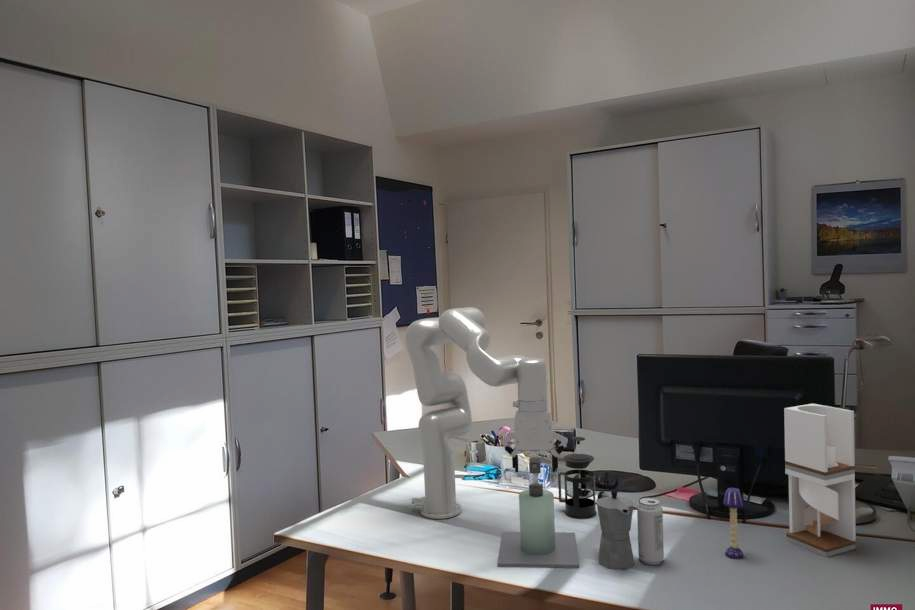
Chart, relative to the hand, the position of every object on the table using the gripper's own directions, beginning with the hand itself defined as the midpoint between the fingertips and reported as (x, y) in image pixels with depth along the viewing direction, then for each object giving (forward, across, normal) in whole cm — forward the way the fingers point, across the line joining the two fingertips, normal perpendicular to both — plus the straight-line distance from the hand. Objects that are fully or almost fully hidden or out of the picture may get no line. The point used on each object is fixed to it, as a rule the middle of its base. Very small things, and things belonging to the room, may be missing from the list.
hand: (535, 470), depth 170 cm
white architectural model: (+21, +72, +6) cm, 75 cm away
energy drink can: (+21, +28, -5) cm, 36 cm away
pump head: (+3, 0, -2) cm, 4 cm away
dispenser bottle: (+21, 0, 0) cm, 21 cm away
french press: (+21, +12, +27) cm, 36 cm away
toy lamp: (+21, +49, -1) cm, 53 cm away
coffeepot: (+21, +19, -5) cm, 29 cm away
